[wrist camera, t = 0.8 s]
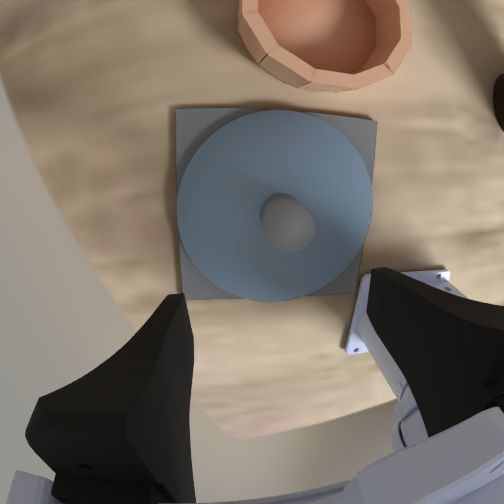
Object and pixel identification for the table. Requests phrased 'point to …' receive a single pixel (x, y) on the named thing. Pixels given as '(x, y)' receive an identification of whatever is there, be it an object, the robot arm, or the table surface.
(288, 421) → the table surface
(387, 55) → the bowl
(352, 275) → the mat
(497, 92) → the coffee mug
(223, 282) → the lid
